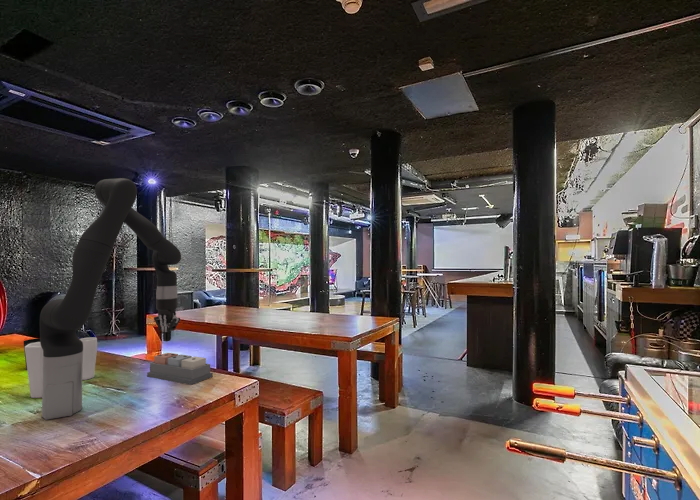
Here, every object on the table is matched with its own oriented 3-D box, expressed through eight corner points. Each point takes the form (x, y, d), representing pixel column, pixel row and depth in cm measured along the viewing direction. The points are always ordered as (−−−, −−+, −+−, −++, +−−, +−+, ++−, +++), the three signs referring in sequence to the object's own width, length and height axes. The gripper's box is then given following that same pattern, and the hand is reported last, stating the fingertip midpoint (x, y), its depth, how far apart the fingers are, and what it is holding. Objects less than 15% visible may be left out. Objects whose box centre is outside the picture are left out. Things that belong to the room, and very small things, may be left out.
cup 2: (58, 386, 128) (59, 338, 128) (71, 391, 122) (72, 341, 123) (17, 396, 118) (19, 344, 119) (29, 402, 113) (31, 348, 113)
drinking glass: (101, 375, 140) (101, 337, 140) (86, 381, 133) (87, 341, 134) (85, 375, 140) (85, 337, 141) (70, 381, 134) (70, 340, 134)
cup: (27, 367, 153) (27, 339, 154) (49, 364, 156) (50, 337, 157) (19, 371, 146) (20, 342, 147) (43, 369, 149) (43, 340, 150)
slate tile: (191, 365, 139) (191, 355, 139) (178, 369, 134) (178, 359, 134) (180, 363, 142) (181, 354, 142) (167, 367, 136) (167, 357, 136)
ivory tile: (205, 367, 136) (205, 357, 136) (192, 371, 130) (192, 361, 131) (194, 365, 138) (194, 355, 139) (181, 369, 133) (181, 359, 133)
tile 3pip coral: (178, 362, 142) (178, 353, 142) (164, 366, 137) (164, 357, 137) (167, 361, 145) (168, 352, 145) (154, 365, 139) (154, 355, 140)
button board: (212, 376, 137) (212, 363, 137) (191, 384, 128) (191, 370, 128) (169, 369, 147) (169, 357, 147) (147, 376, 138) (147, 363, 138)
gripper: (186, 296, 142) (186, 340, 142) (164, 295, 148) (164, 337, 148) (170, 298, 136) (170, 344, 135) (147, 297, 141) (147, 341, 141)
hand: (166, 340), depth 141 cm, fingers closed
